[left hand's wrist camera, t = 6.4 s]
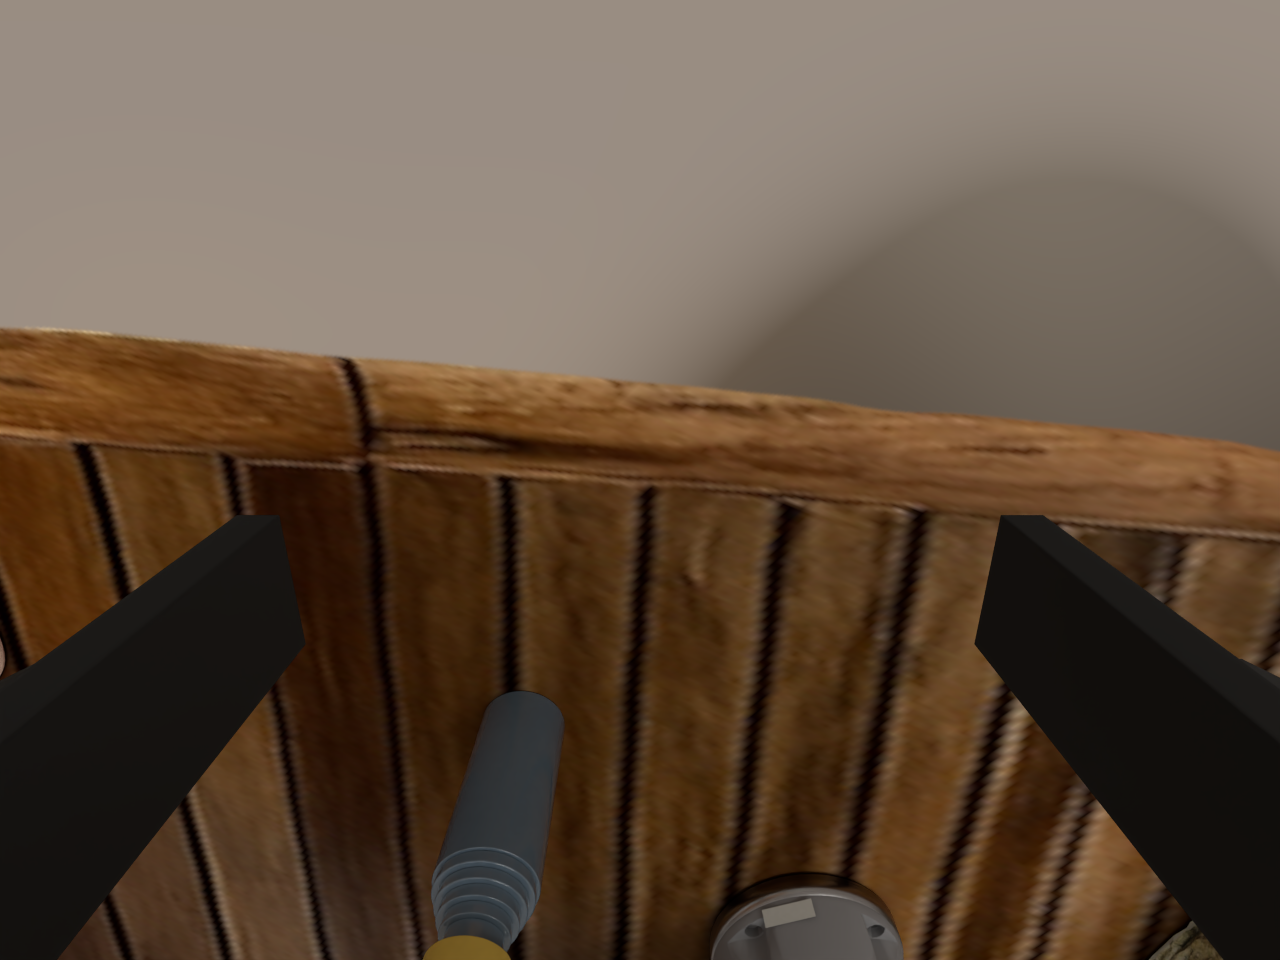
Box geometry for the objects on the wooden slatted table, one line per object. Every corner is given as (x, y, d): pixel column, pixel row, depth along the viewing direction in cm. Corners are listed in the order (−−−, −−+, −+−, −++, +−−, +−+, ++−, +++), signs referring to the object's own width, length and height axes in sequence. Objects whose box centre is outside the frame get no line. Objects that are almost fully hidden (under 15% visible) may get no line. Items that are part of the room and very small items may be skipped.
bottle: (558, 687, 47) (512, 950, 30) (570, 753, 50) (533, 1034, 32) (475, 694, 48) (383, 960, 31) (490, 760, 50) (412, 1043, 33)
